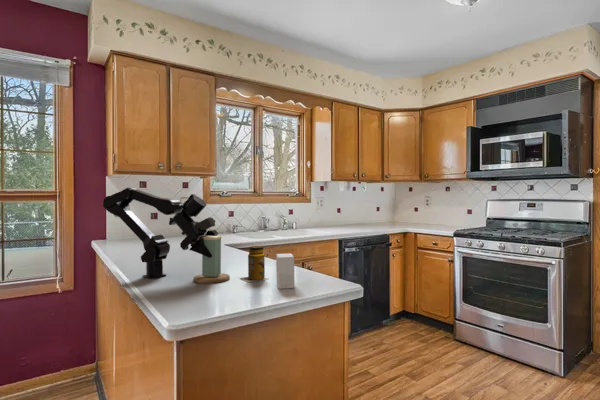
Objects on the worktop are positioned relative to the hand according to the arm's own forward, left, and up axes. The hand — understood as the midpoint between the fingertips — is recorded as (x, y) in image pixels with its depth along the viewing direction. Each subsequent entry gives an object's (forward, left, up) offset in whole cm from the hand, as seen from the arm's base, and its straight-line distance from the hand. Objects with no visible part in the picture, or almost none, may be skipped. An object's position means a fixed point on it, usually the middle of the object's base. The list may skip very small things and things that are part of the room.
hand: (214, 255), depth 132 cm
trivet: (-1, -1, -9) cm, 9 cm away
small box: (+27, +8, -9) cm, 30 cm away
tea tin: (-1, -1, -7) cm, 7 cm away
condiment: (+11, +9, -9) cm, 17 cm away
